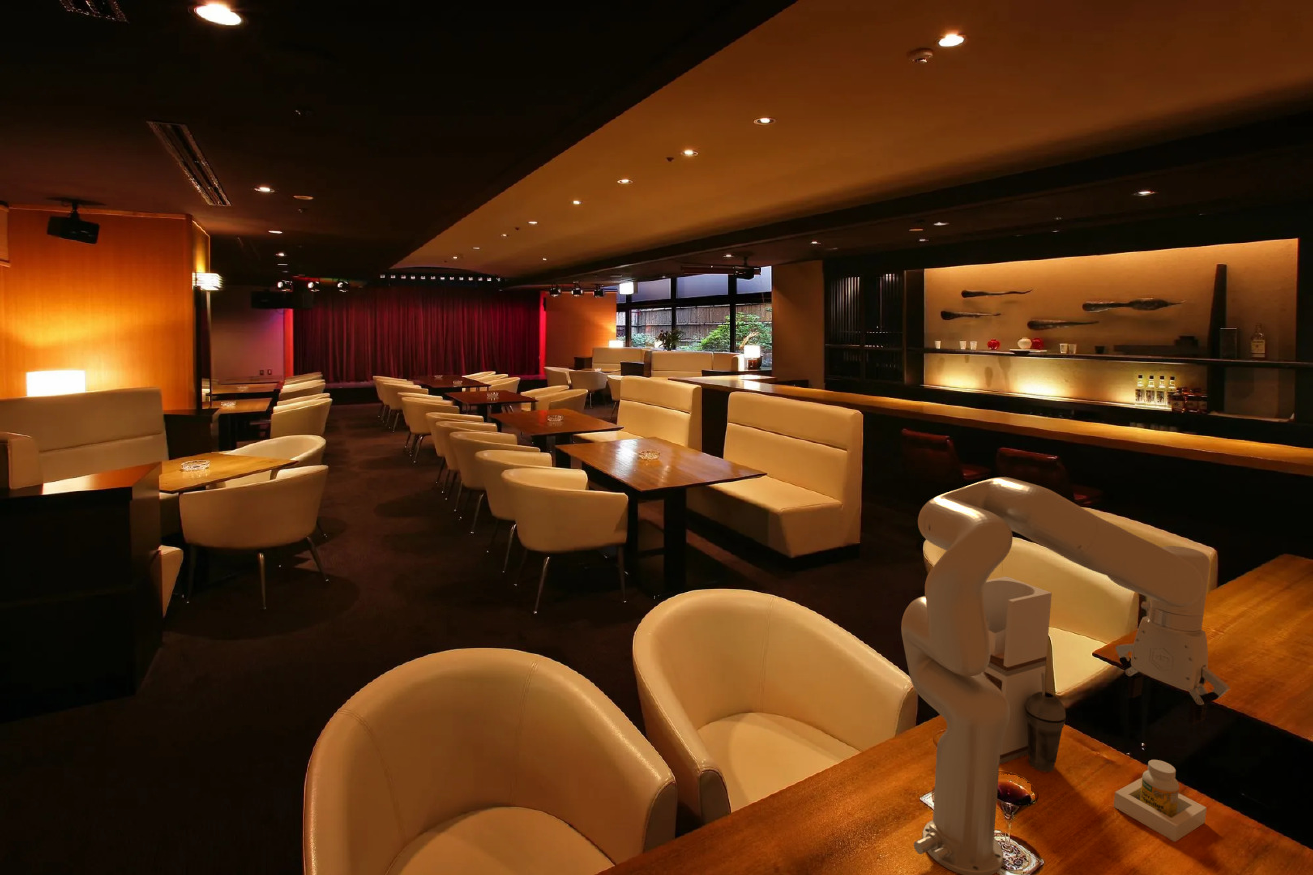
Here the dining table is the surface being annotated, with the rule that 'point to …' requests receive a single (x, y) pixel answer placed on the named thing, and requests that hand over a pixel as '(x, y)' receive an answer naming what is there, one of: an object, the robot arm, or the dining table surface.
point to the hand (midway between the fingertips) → (1163, 708)
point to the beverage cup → (1044, 728)
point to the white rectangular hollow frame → (1171, 828)
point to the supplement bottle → (1160, 787)
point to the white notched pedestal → (1016, 651)
